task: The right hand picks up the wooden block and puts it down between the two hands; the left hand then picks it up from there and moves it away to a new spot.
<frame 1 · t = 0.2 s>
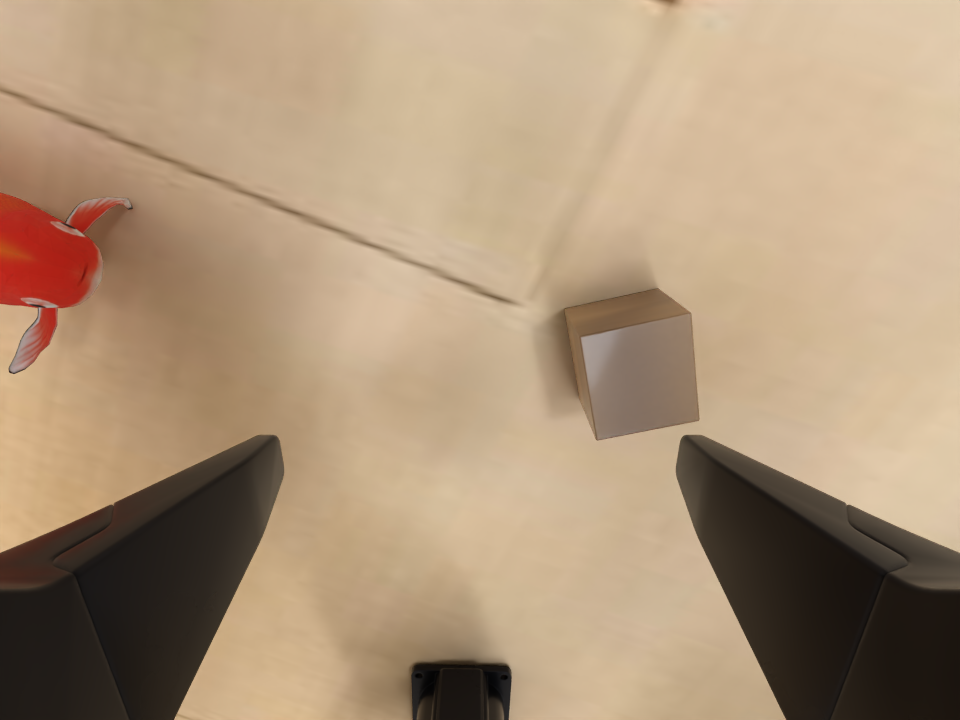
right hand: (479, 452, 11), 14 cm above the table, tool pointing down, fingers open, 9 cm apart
block: (617, 346, 25), on the table
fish: (3, 218, 23), on the table
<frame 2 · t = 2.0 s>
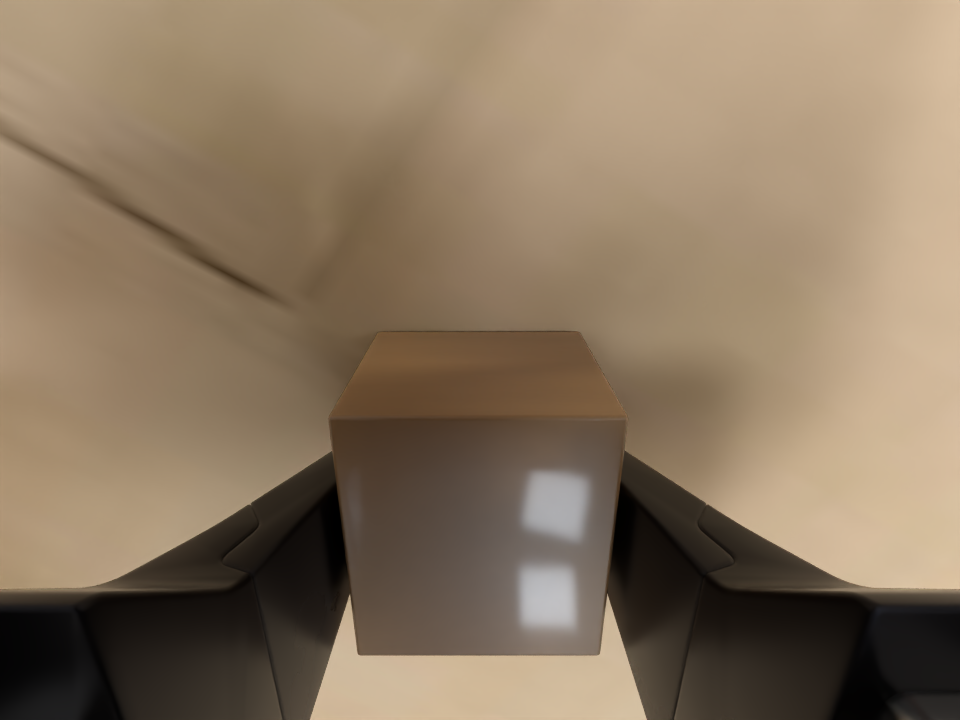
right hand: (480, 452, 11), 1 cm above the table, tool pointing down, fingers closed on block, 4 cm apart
block: (479, 429, 12), on the table, touching right hand
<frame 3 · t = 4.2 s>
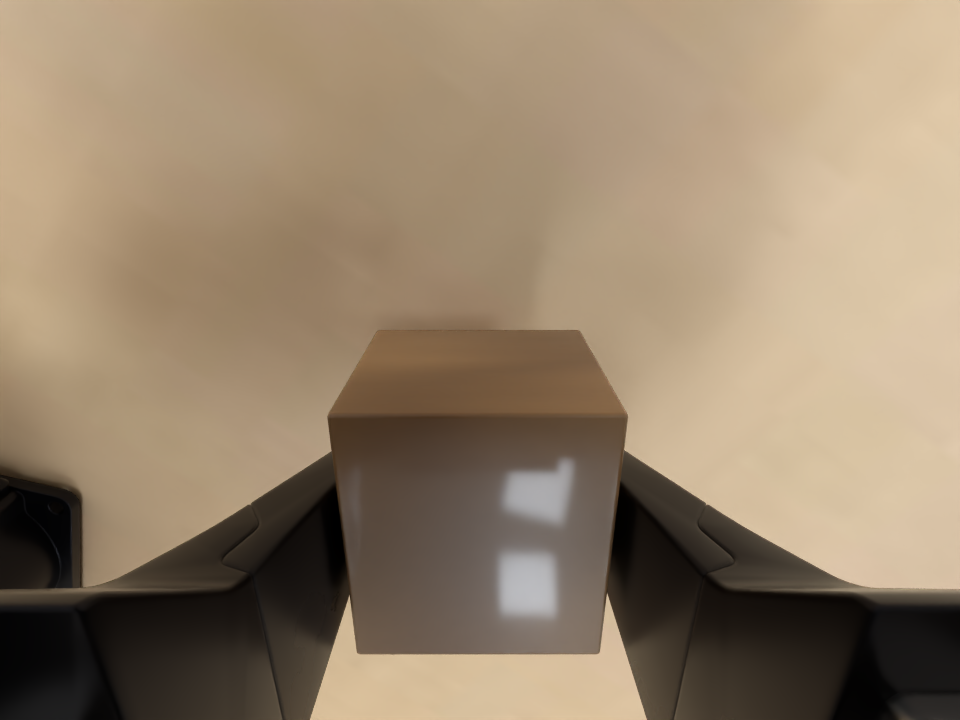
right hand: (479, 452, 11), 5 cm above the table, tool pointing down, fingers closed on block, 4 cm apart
block: (478, 428, 12), point 4 cm above the table, touching right hand
when the right hand's fingers open (2 cm above the table, at t = 6.5 s): block stays where it is, on the table.
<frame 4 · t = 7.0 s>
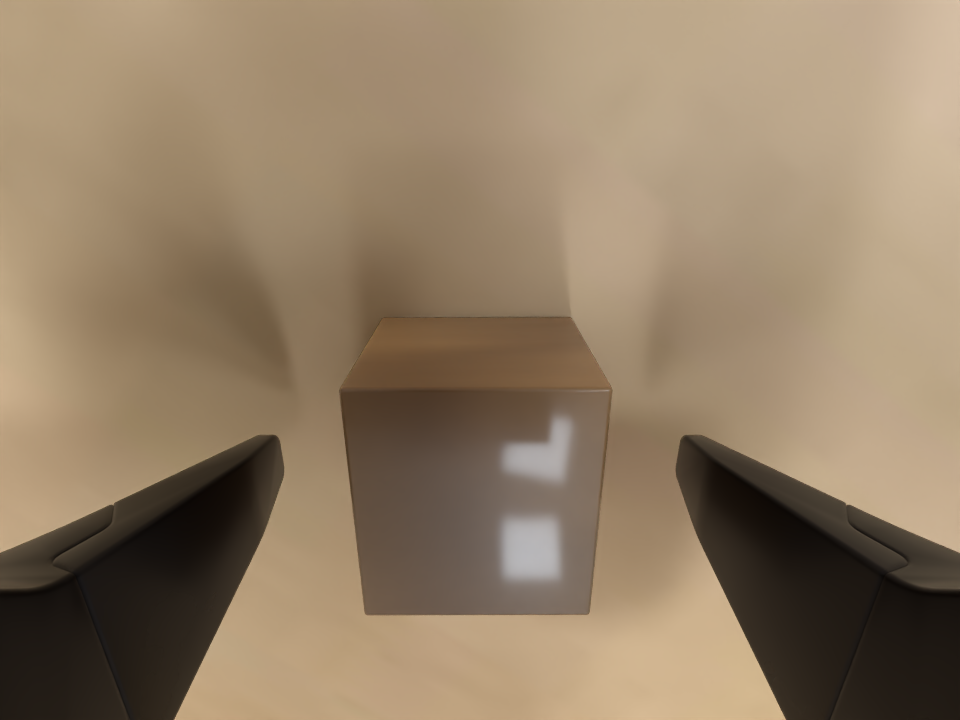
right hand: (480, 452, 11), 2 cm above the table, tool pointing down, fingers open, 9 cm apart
block: (477, 411, 13), on the table
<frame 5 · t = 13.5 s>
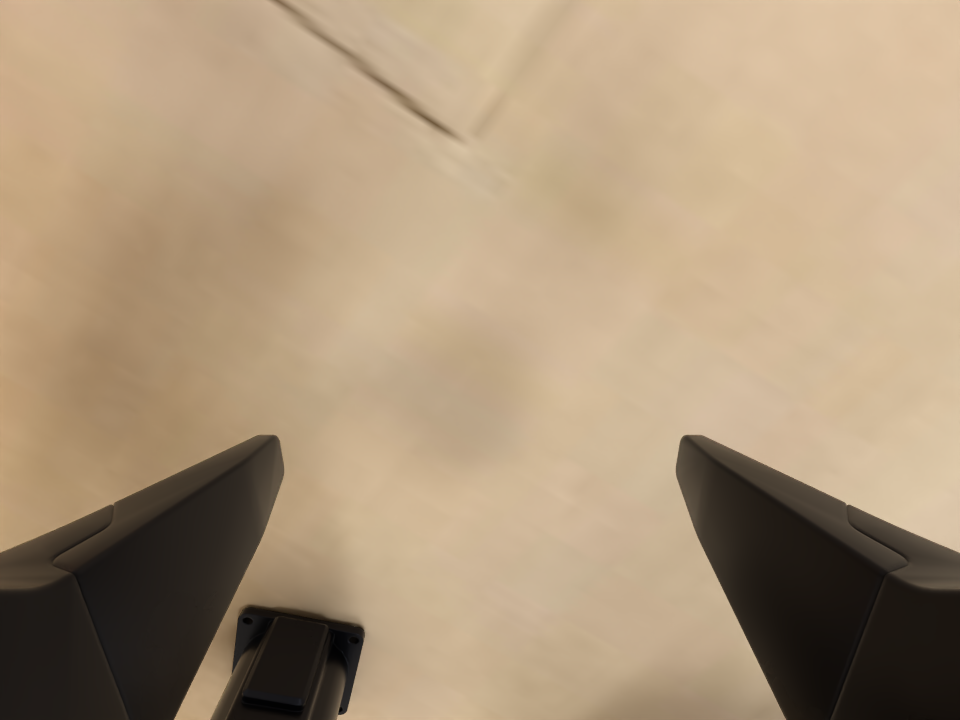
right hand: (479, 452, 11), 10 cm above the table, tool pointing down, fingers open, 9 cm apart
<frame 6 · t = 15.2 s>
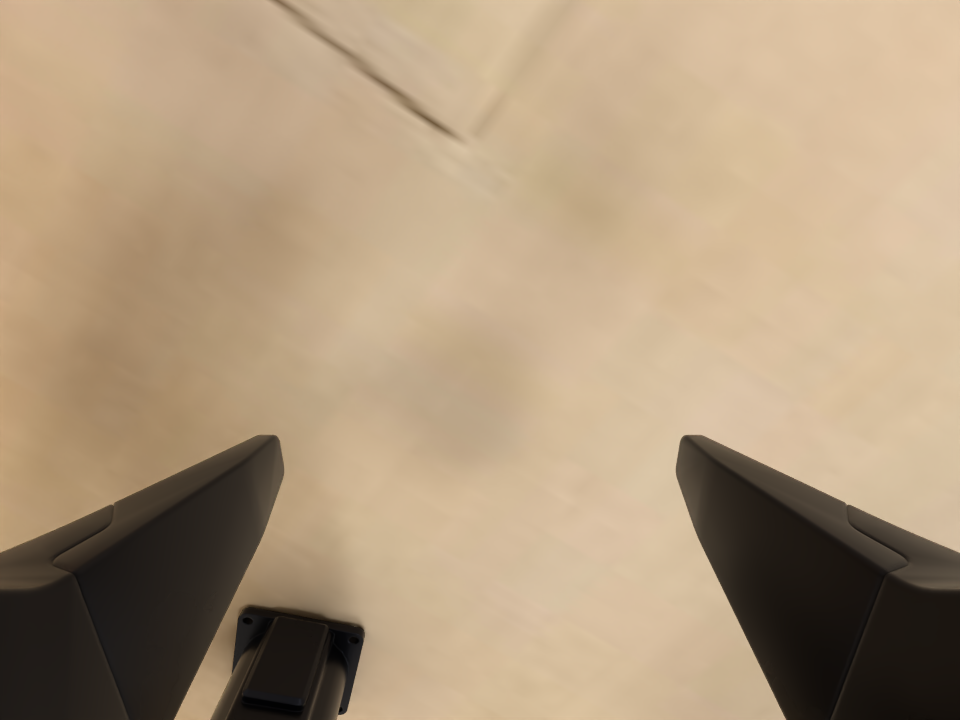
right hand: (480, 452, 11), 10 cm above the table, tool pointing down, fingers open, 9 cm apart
when the left hand's fingers open (2 cm above the table, at t = 16.7 s): block stays where it is, on the table.
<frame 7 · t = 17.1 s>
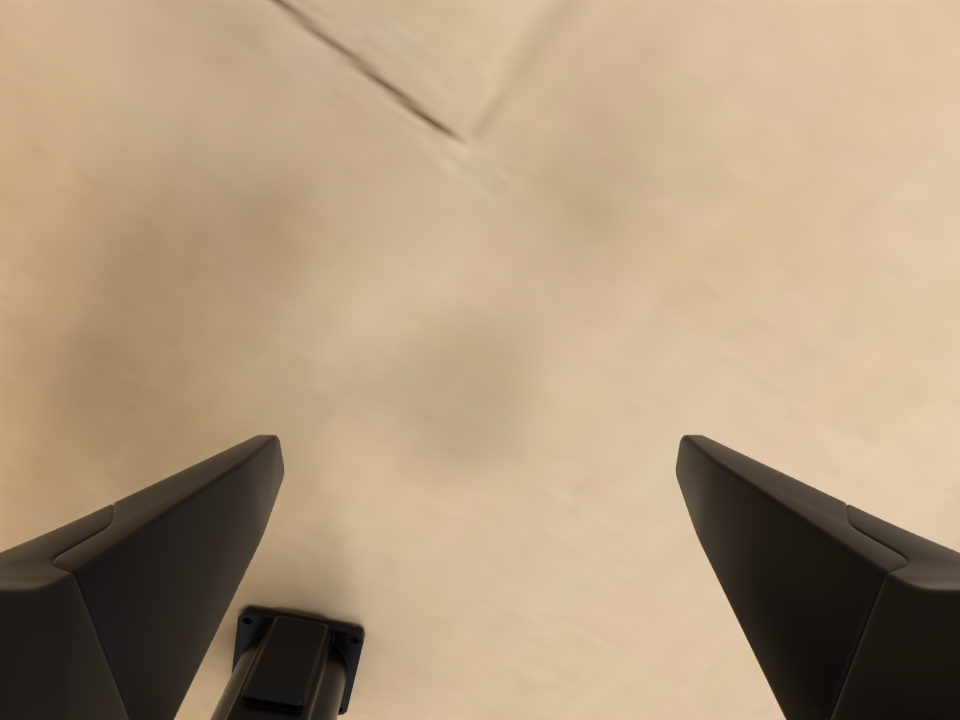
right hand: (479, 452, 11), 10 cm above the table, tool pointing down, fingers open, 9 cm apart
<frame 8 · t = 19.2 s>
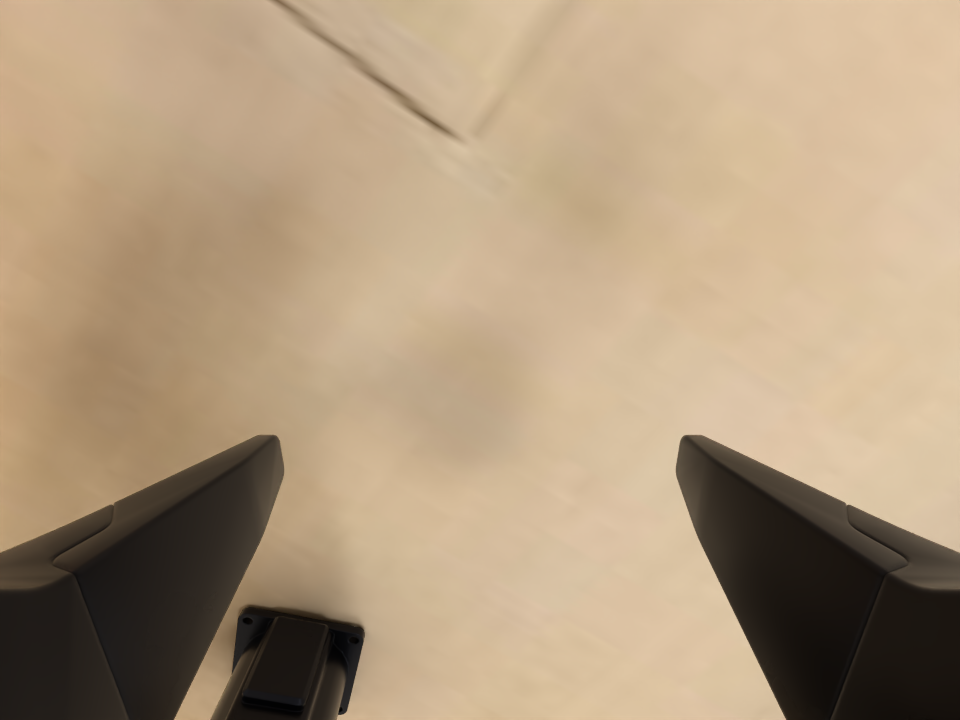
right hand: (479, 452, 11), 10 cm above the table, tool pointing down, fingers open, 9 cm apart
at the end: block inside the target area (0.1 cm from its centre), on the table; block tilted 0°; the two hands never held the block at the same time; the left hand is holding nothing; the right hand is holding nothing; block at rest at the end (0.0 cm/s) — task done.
